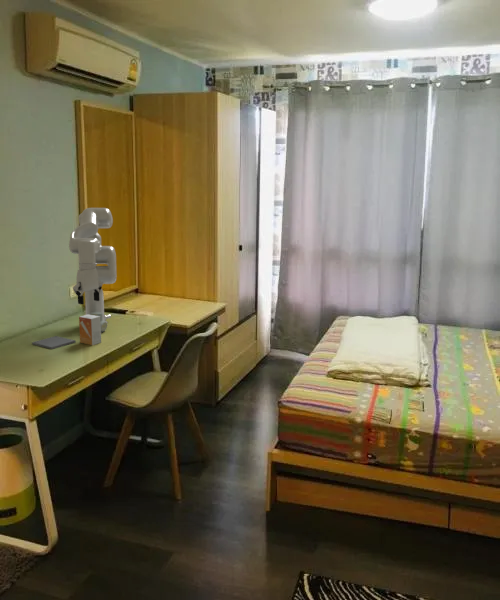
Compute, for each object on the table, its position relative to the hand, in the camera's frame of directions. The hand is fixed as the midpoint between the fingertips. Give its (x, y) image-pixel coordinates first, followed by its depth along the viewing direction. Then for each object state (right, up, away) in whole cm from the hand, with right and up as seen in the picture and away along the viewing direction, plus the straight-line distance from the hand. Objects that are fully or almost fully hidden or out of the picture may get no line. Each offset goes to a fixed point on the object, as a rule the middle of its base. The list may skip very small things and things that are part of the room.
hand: (88, 302), depth 281 cm
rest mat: (-17, -20, +2) cm, 26 cm away
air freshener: (-2, -15, +24) cm, 29 cm away
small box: (0, -20, +4) cm, 20 cm away
